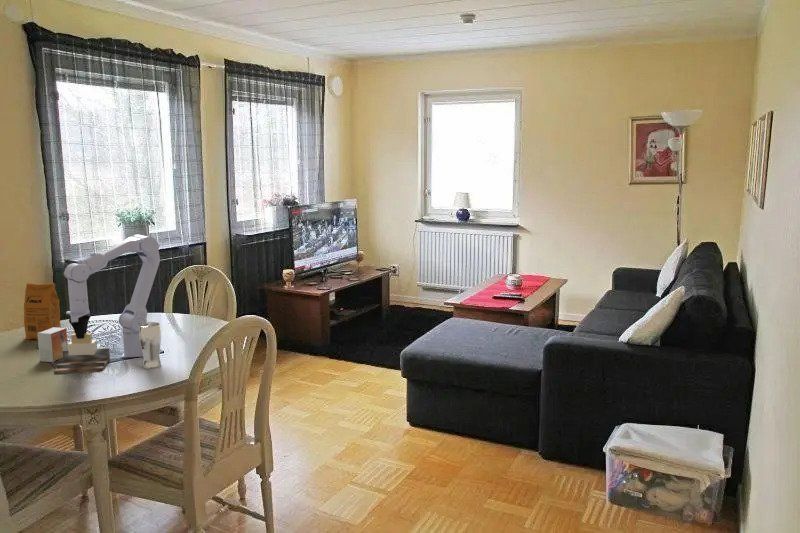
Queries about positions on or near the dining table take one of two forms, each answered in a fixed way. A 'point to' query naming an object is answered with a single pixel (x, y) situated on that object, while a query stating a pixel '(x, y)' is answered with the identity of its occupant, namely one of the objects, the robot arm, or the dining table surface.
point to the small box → (52, 344)
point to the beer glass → (150, 344)
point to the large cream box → (82, 345)
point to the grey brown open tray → (83, 362)
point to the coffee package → (40, 309)
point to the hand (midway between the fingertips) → (81, 337)
